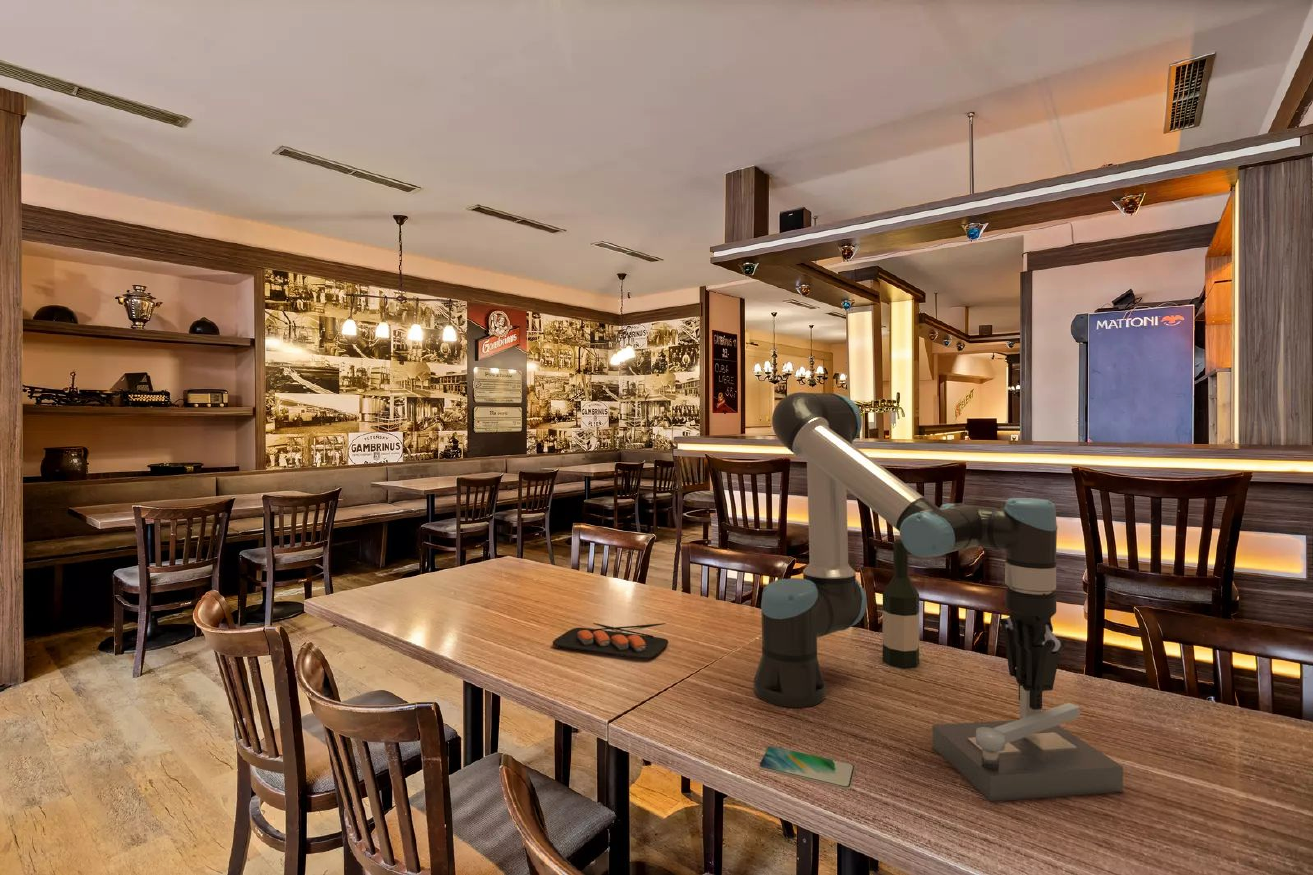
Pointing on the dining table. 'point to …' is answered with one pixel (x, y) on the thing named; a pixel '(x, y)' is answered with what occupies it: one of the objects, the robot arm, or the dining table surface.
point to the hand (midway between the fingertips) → (1030, 724)
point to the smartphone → (808, 767)
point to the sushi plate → (613, 641)
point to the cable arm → (1025, 727)
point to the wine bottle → (900, 614)
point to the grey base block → (1028, 763)
